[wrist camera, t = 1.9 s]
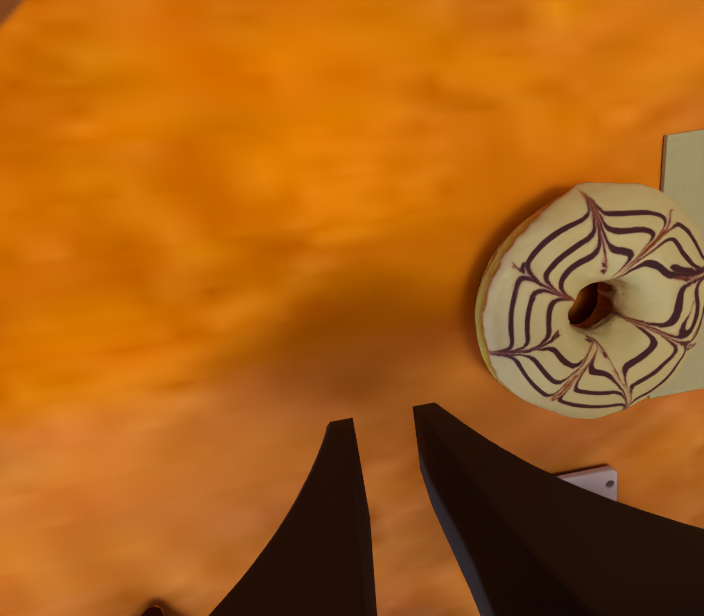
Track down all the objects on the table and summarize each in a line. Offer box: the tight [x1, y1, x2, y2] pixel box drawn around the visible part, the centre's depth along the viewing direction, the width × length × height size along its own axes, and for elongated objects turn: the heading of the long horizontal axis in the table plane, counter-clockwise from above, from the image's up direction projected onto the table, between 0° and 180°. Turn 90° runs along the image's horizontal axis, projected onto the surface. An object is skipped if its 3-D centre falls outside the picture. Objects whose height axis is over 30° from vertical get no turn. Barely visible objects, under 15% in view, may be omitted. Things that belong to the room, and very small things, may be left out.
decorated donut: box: [475, 182, 704, 419], centre depth 18 cm, size 10×11×4 cm
